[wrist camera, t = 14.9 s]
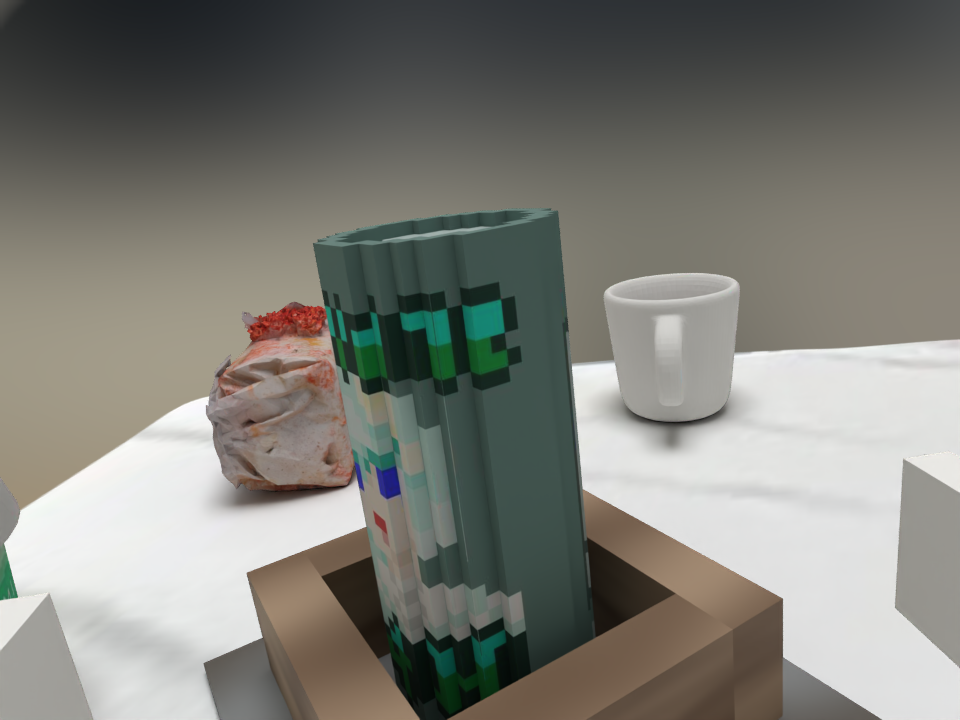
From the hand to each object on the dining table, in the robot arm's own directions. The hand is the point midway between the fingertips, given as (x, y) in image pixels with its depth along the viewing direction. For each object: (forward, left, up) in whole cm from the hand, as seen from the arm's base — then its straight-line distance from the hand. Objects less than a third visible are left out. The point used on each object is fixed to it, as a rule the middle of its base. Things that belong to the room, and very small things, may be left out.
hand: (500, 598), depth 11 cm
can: (+8, -4, -10) cm, 14 cm away
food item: (+34, -5, -11) cm, 36 cm away
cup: (+21, -25, -11) cm, 35 cm away
